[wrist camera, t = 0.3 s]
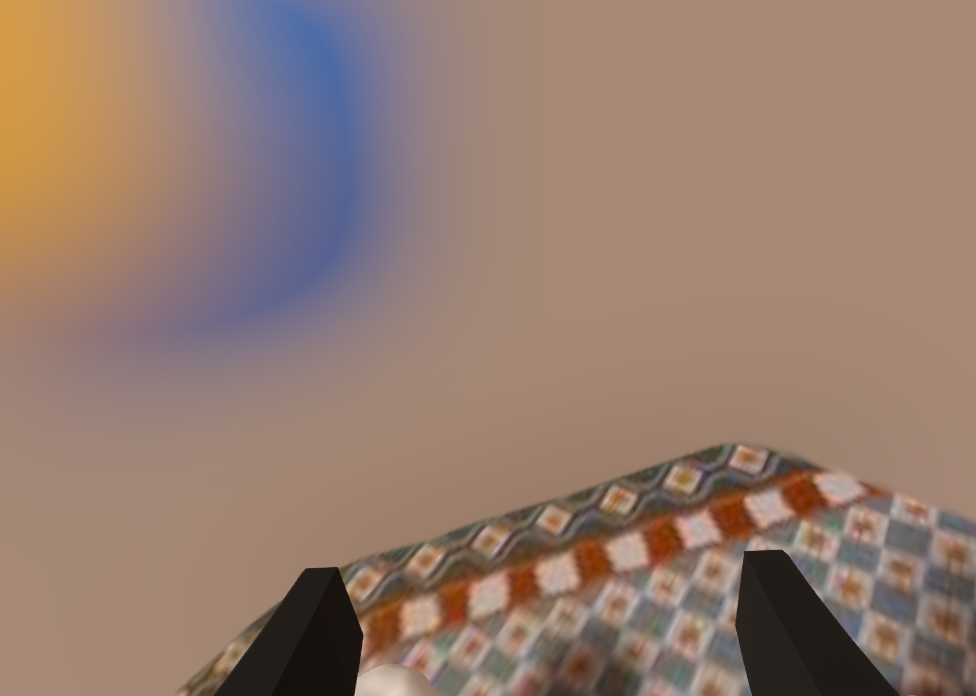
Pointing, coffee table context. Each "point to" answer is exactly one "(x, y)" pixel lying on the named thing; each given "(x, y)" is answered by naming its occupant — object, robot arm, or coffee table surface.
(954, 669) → the coffee table surface
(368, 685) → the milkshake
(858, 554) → the coffee table surface
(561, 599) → the coffee table surface
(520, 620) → the coffee table surface
